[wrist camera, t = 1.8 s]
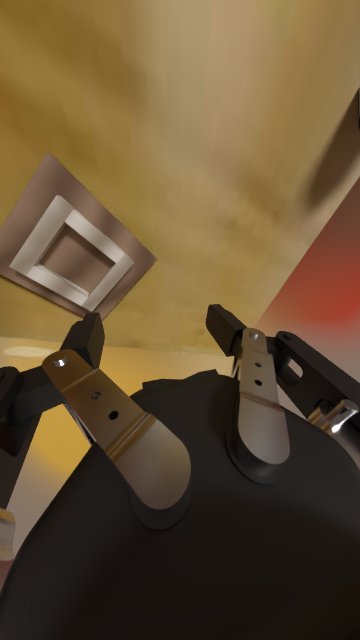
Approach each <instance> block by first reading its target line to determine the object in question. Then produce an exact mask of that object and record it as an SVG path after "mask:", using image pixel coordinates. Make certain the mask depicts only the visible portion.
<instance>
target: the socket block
mask: <svg viewBox="0 0 360 640" xmlns="http://www.w3.org/2000/svg"><path fill="white" fill-rule="evenodd" d="M156 260H157V259H156V258H155V257H154V256H153V255H152V254H151V253H150V252H149V251H148V250H147V249H146V248H145V247H144V246H143V245H142V244H141V243H140V242H139V241H138V240H137V239H136V238H135V237H134V236H133V235H132V234H131V233H130V232H129V231H128V230H127V229H126V228H125V227H124V226H123V225H122V224H121V223H120V222H119V221H118V220H117V219H116V218H115V217H114V216H113V215H112V214H111V213H110V212H109V211H108V210H107V209H106V208H105V207H104V206H103V205H102V204H101V203H100V202H99V201H98V200H97V199H96V198H95V197H94V196H93V195H92V194H91V193H90V192H89V191H88V190H87V189H86V188H85V187H84V186H83V185H82V184H81V183H80V182H79V181H78V180H77V179H76V178H75V177H74V176H73V175H72V174H71V173H70V172H69V171H68V170H67V169H66V168H65V167H64V166H63V165H62V164H61V163H60V162H59V161H58V160H57V159H56V158H55V157H54V156H53V155H52V154H50V153H49V152H48V153H47V154H46V156H45V157H44V159H43V161H42V162H41V164H40V166H39V167H38V169H37V171H36V172H35V174H34V175H33V177H32V179H31V180H30V182H29V184H28V185H27V187H26V189H25V190H24V192H23V193H22V195H21V197H20V198H19V200H18V202H17V203H16V205H15V207H14V208H13V210H12V211H11V213H10V215H9V216H8V218H7V220H6V221H5V223H4V225H3V226H2V228H1V229H0V275H2V276H4V277H6V278H8V279H10V280H12V281H14V282H16V283H18V284H20V285H22V286H24V287H26V288H28V289H30V290H32V291H34V292H36V293H38V294H40V295H42V296H44V297H45V298H47V299H49V300H51V301H53V302H55V303H57V304H59V305H61V306H63V307H65V308H67V309H69V310H71V311H73V312H75V313H77V314H79V315H81V316H83V317H85V314H86V313H94V312H99V313H100V316H101V320H103V319H104V318H105V317H106V315H107V314H108V313H109V312H110V311H111V310H112V309H113V308H114V307H115V305H116V304H117V303H118V302H119V301H120V300H121V299H122V298H123V297H124V295H125V294H126V293H127V292H128V291H129V290H130V289H131V288H132V287H133V285H134V284H135V283H136V282H137V281H138V280H139V279H140V278H141V277H142V275H143V274H144V273H145V272H146V271H147V270H148V269H149V268H150V267H151V265H152V264H153V263H154V262H155V261H156Z"/></svg>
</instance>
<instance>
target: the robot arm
mask: <svg viewBox="0 0 360 640" xmlns="http://www.w3.org/2000/svg"><path fill="white" fill-rule="evenodd" d="M206 327H207V329H208V331H209V332H210V334H211V335H212V336H213V338H214V339H215V341H216V342H217V344H218V345H219V346H220V348H221V349H222V351H223V352H224V353H225V355H226V356H227V357H229V356H234V360H233V365H232V372H231V377H229V376H225V375H219V374H218V372H217V371H216V369H214V370H209V371H202V372H199V373H196V374H194V375H192V376H190V377H187V378H185V379H182V380H177V379H159V380H153V381H148V382H143V383H142V385H143V389H141V390H139V391H137V392H136V393H134V394H132V395H131V396H130V397H129V396H128V395H127V394H125V392H123V391H122V390H121V389H120V388H119V387H118V386H117V385H116V384H115V383H114V382H113V381H112V380H111V379H110V378H108V376H107V375H106V374H104V373H103V372H102V371H101V370H100V369H99V365H100V360H101V355H102V350H103V345H104V339H105V335H104V329H103V325H102V320H101V316H100V313H99V312H94V313H86V314H85V317H84V319H83V321H77V322H76V323H75V324H74V325H72V327H71V329H70V331H69V332H68V334H67V337H66V338H65V340H64V342H63V344H62V346H61V348H60V350H59V351H57V352H54V353H52V354H51V355H49V356H48V357H46V358H45V359H44V361H43V363H42V365H41V366H39V367H36V368H33V369H29V370H27V371H23V372H19V371H18V369H16V368H15V367H11V366H8V367H2V368H0V640H360V383H359V382H357V381H356V380H355V379H353V378H352V377H351V376H349V375H348V374H347V373H345V372H344V371H343V370H341V369H340V368H339V367H337V366H336V365H335V364H333V363H332V362H331V361H329V360H328V359H327V358H326V357H324V356H323V355H321V354H320V353H319V352H318V351H316V350H315V349H314V348H312V347H311V346H309V345H308V344H307V343H306V342H304V341H303V340H302V339H300V338H299V337H298V336H296V335H295V334H292V333H290V332H286V331H279V332H278V333H277V334H276V337H267V336H265V334H264V333H263V332H261V331H260V330H257V329H254V328H247V327H246V326H245V325H244V324H243V323H242V322H241V321H240V320H238V318H236V317H235V316H234V315H233V314H232V313H231V312H229V311H227V310H225V309H224V308H223V307H222V306H221V305H220V304H213V305H209V307H208V312H207V318H206ZM291 359H293V360H294V361H295V362H296V363H297V364H298V365H299V366H300V367H301V368H302V371H303V375H302V377H301V378H300V377H299V376H298V375H297V374H296V373H295V372H294V371H293V370H292V369H291V368H290V367H289V366H288V364H289V362H290V361H291ZM276 382H277V384H278V385H279V386H280V387H281V389H282V390H283V391H284V392H285V393H286V394H287V396H288V397H289V398H290V399H291V401H292V402H293V403H294V404H295V405H296V407H297V408H298V409H299V410H300V411H301V413H302V414H303V415H304V416H305V417H306V419H307V420H308V421H309V422H308V421H307V420H305V419H303V418H301V417H300V416H298V415H296V414H295V413H293V412H291V411H289V410H288V409H286V408H284V407H283V406H281V405H280V404H279V399H278V391H277V385H276ZM62 403H63V404H64V406H65V407H66V409H67V410H68V412H69V413H70V415H71V416H72V418H73V419H74V420H75V422H76V423H77V425H78V426H79V428H80V429H81V431H82V432H83V434H84V436H85V437H86V439H87V440H88V442H89V443H90V445H91V448H90V449H89V450H88V452H87V453H86V454H85V456H84V457H83V459H82V460H81V461H80V463H79V464H78V466H77V467H76V468H75V470H74V471H73V473H72V474H71V475H70V477H69V478H68V479H67V481H66V482H65V484H64V485H63V486H62V488H61V490H60V491H59V492H58V493H57V495H56V496H55V498H54V499H53V500H52V502H51V503H50V504H49V506H48V507H47V509H46V510H45V511H44V513H43V514H42V516H41V517H40V518H39V520H38V521H37V523H36V524H35V525H34V527H33V528H32V530H31V531H30V532H29V534H28V536H27V537H26V539H25V540H24V542H23V544H22V545H21V548H20V549H19V551H18V553H17V555H16V557H15V556H14V554H13V548H12V544H13V537H14V532H15V525H16V522H15V517H14V515H13V514H12V513H11V512H9V511H7V510H6V508H7V505H8V503H9V500H10V497H11V495H12V492H13V489H14V487H15V484H16V481H17V479H18V476H19V473H20V470H21V468H22V465H23V463H24V460H25V457H26V455H27V452H28V449H29V447H30V444H31V441H32V439H33V436H34V433H35V431H36V428H37V425H38V423H39V420H40V417H41V415H42V412H44V411H46V410H49V409H51V408H53V407H55V406H58V405H60V404H62Z"/></svg>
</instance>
